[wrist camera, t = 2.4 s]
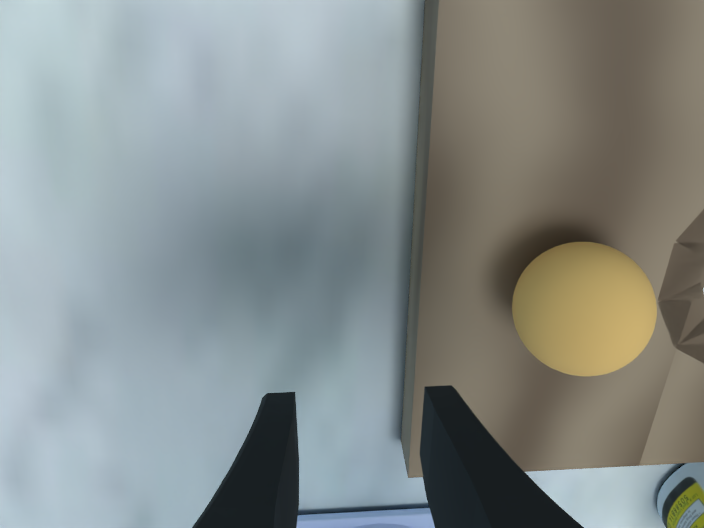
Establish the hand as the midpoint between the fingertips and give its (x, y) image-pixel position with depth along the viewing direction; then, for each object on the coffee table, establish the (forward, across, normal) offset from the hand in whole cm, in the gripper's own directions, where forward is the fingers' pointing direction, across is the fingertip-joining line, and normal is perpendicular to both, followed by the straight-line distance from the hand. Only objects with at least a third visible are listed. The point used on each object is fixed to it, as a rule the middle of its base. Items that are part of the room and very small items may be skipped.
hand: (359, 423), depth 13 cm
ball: (+4, -7, 0) cm, 8 cm away
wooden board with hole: (+8, -11, 0) cm, 14 cm away
